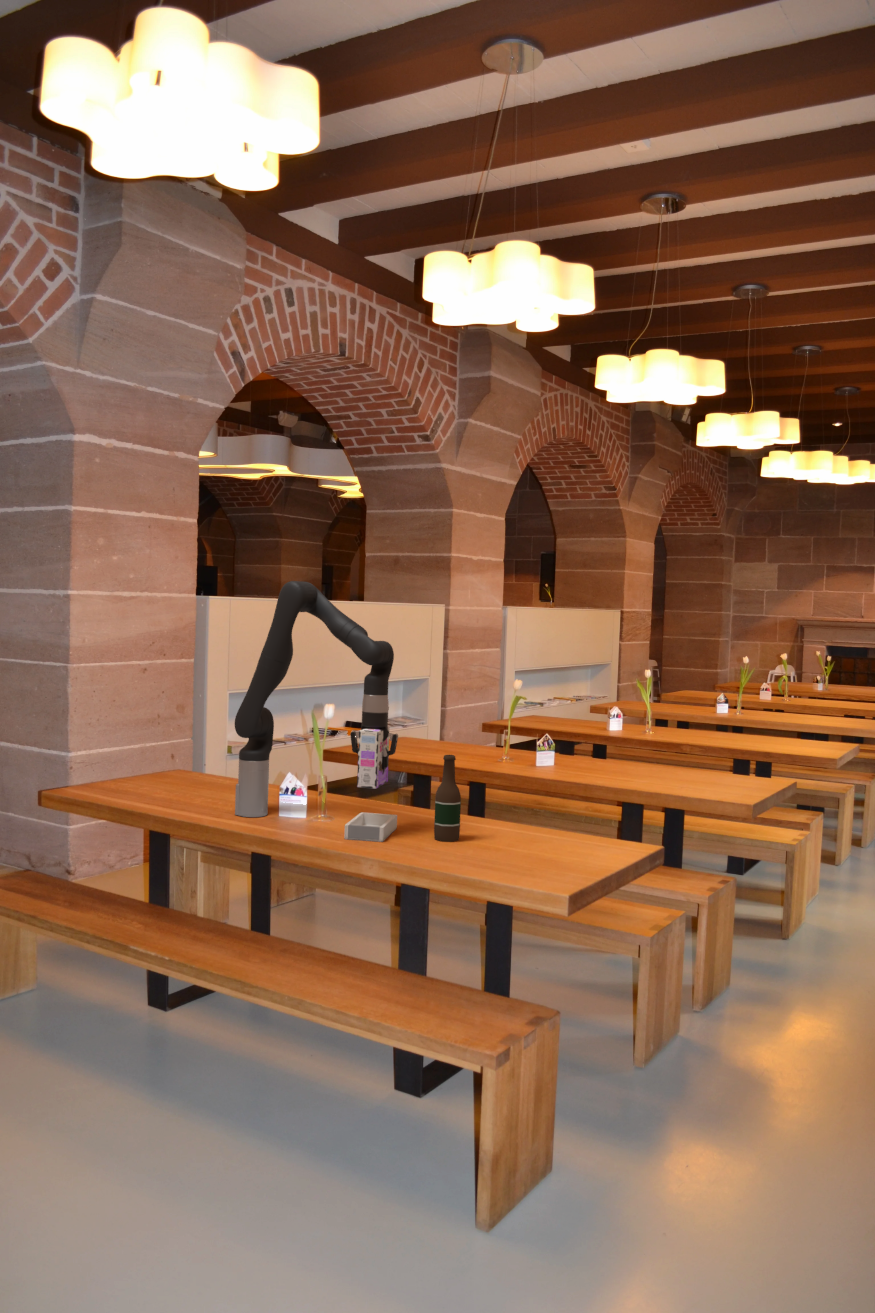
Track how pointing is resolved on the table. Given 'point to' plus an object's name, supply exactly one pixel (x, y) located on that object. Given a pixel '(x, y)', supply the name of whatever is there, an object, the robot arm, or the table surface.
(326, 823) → the table surface
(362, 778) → the candy box
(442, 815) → the beer bottle
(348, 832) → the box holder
